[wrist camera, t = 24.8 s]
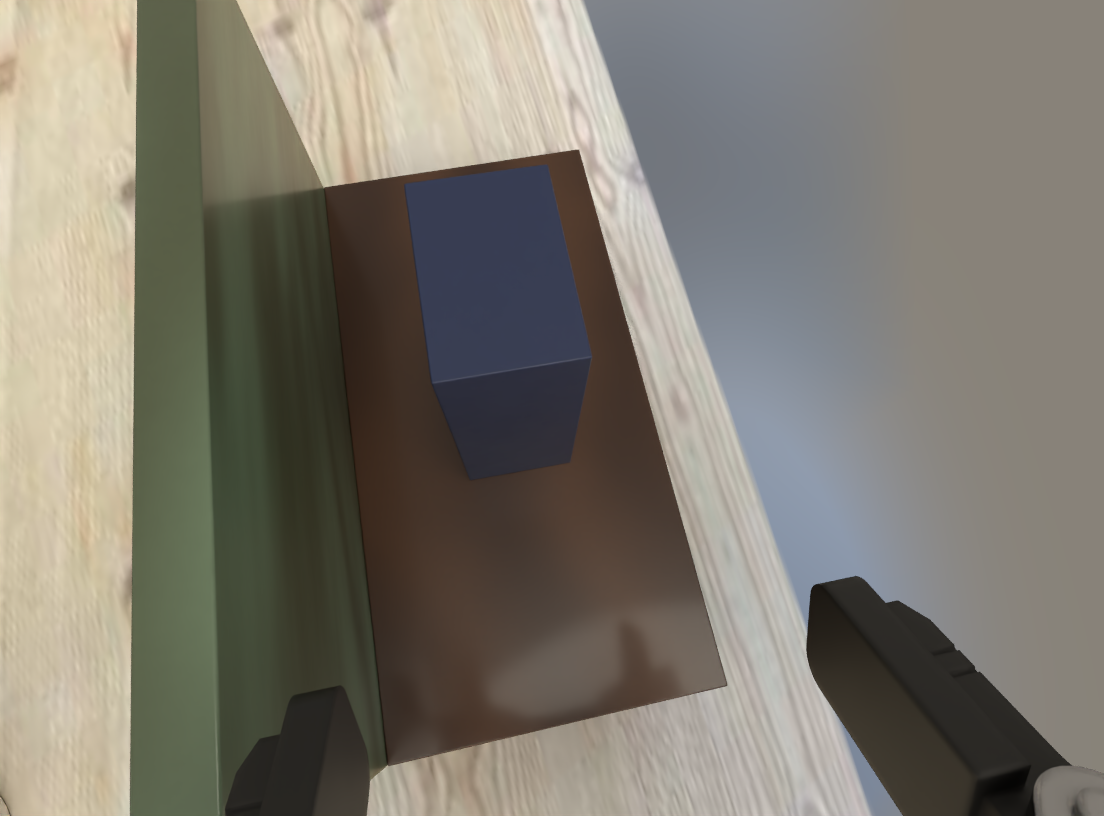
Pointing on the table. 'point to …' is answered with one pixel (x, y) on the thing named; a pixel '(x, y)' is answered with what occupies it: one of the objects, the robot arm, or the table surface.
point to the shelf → (358, 463)
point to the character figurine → (3, 809)
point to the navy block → (500, 317)
